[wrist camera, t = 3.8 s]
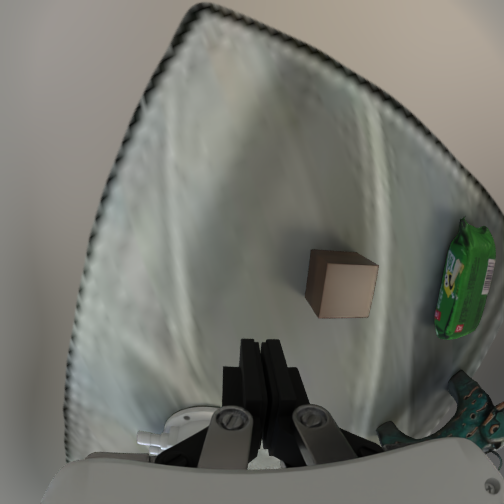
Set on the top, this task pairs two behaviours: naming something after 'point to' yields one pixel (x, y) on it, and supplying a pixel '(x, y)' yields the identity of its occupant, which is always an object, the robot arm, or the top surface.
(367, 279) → the walnut block
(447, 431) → the ceramic cat
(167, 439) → the robot arm
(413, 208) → the top surface
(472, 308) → the snack package
